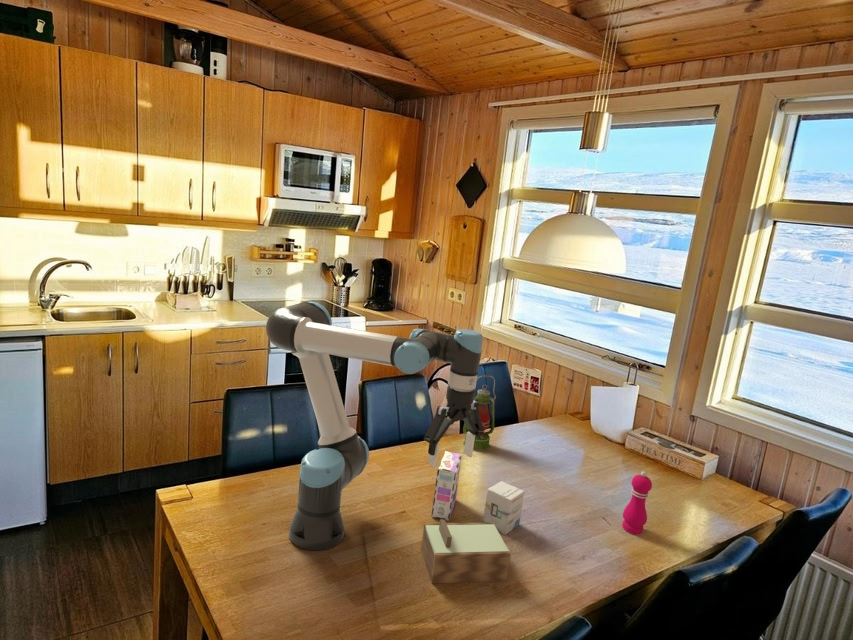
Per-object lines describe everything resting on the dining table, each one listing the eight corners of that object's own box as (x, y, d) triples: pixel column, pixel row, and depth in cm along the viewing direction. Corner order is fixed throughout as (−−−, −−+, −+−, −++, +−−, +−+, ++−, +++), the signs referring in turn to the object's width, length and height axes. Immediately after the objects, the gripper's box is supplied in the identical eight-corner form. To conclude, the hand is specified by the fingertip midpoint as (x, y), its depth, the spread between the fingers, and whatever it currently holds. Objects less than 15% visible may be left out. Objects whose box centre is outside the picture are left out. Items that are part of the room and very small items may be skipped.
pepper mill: (629, 536, 175) (641, 477, 171) (615, 523, 182) (627, 466, 178) (648, 535, 177) (661, 477, 173) (635, 522, 184) (646, 465, 180)
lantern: (465, 451, 222) (475, 379, 216) (455, 440, 232) (465, 370, 226) (497, 450, 226) (508, 379, 220) (486, 439, 236) (496, 371, 230)
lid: (435, 556, 141) (436, 542, 140) (425, 528, 153) (426, 515, 152) (508, 554, 145) (510, 540, 145) (493, 527, 157) (495, 514, 156)
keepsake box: (431, 585, 142) (435, 555, 140) (420, 551, 155) (424, 523, 153) (506, 583, 146) (511, 553, 144) (489, 550, 159) (493, 522, 158)
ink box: (496, 513, 180) (501, 479, 177) (519, 524, 174) (525, 490, 172) (481, 522, 173) (486, 488, 171) (505, 535, 168) (511, 499, 165)
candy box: (449, 521, 171) (456, 472, 168) (430, 517, 172) (437, 468, 169) (456, 499, 185) (462, 453, 181) (438, 496, 186) (444, 449, 182)
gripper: (436, 398, 140) (425, 476, 144) (502, 386, 156) (490, 456, 161) (417, 388, 145) (406, 463, 150) (483, 377, 162) (472, 445, 166)
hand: (450, 460), depth 155 cm, fingers open, 13 cm apart
